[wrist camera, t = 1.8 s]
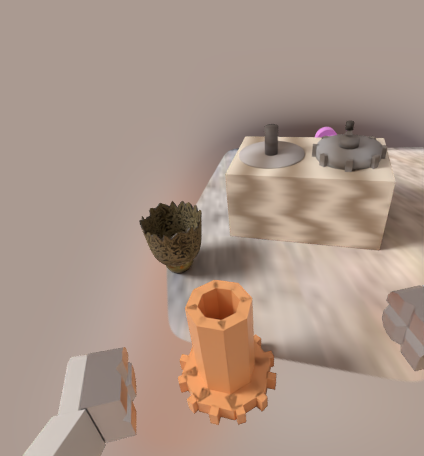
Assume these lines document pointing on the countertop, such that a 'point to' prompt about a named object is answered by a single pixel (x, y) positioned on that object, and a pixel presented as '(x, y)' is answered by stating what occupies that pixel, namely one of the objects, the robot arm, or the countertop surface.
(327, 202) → the gearbox
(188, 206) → the cup
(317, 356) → the countertop surface
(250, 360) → the orange gear
